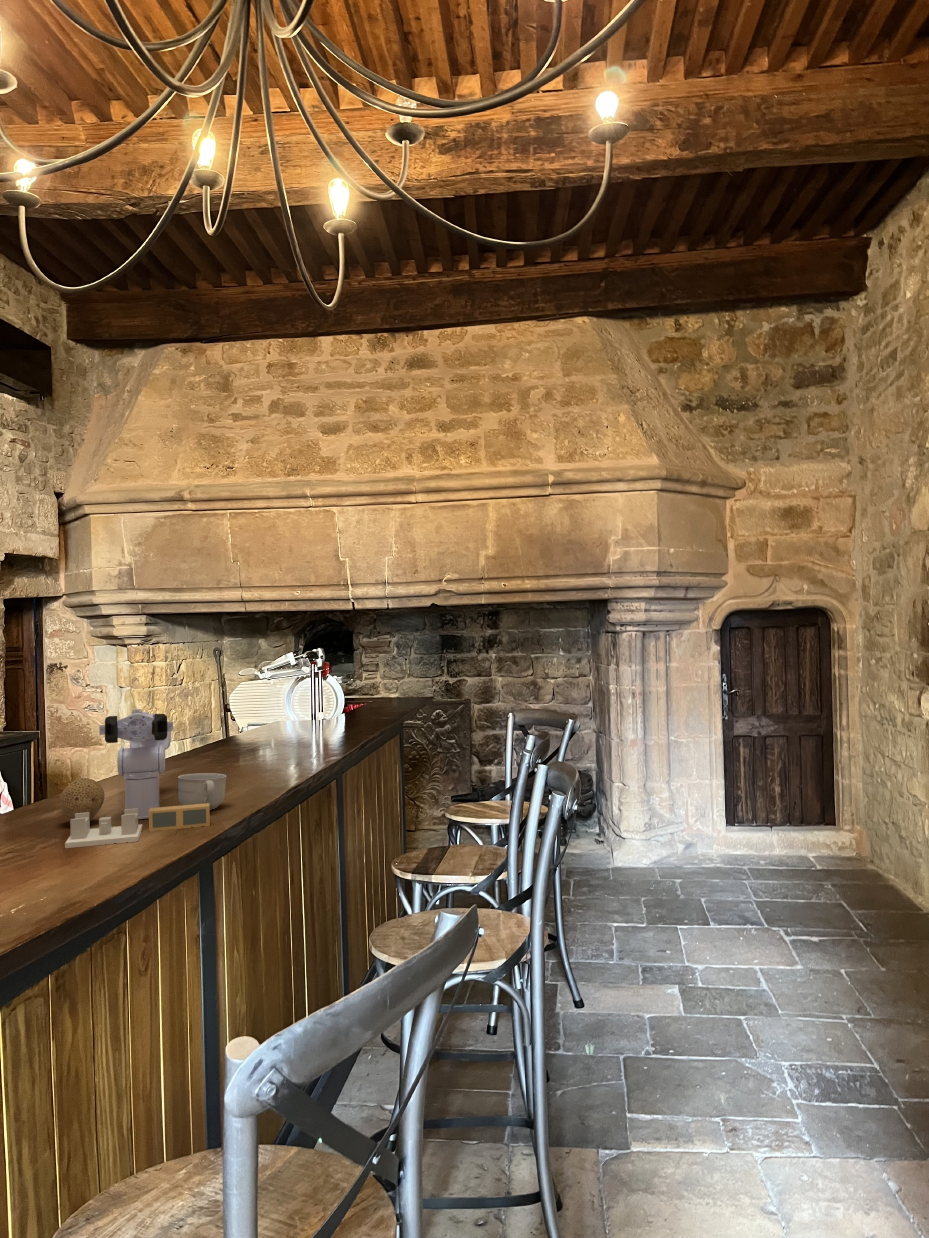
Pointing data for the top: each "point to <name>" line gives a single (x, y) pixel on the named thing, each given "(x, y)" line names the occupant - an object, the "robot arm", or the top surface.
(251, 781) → the top surface
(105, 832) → the display stand
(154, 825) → the wooden block with panels
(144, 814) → the robot arm
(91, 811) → the natural sponge
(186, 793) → the teacup
